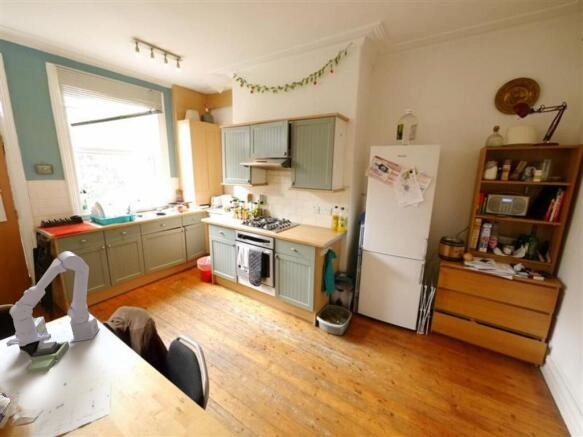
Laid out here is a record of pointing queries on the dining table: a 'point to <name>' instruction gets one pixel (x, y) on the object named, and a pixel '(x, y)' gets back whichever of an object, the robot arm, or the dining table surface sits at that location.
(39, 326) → the light bulb box
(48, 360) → the green tray
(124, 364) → the dining table surface
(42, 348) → the chute block
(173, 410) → the dining table surface
